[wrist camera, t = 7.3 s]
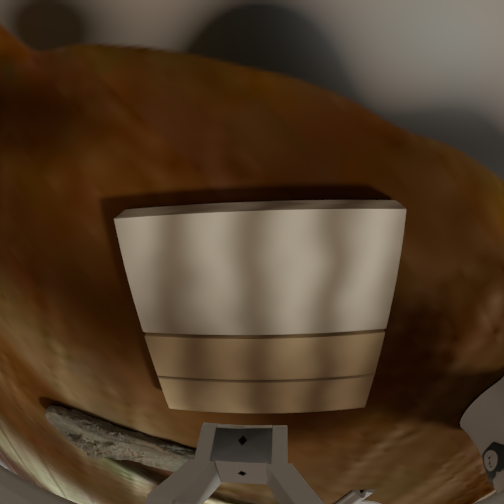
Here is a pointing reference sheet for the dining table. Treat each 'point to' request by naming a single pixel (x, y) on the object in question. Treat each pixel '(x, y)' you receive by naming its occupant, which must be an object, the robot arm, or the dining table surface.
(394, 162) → the dining table surface
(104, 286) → the dining table surface
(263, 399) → the oak board
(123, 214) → the birch plank
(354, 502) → the molding
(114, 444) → the long grey stone
